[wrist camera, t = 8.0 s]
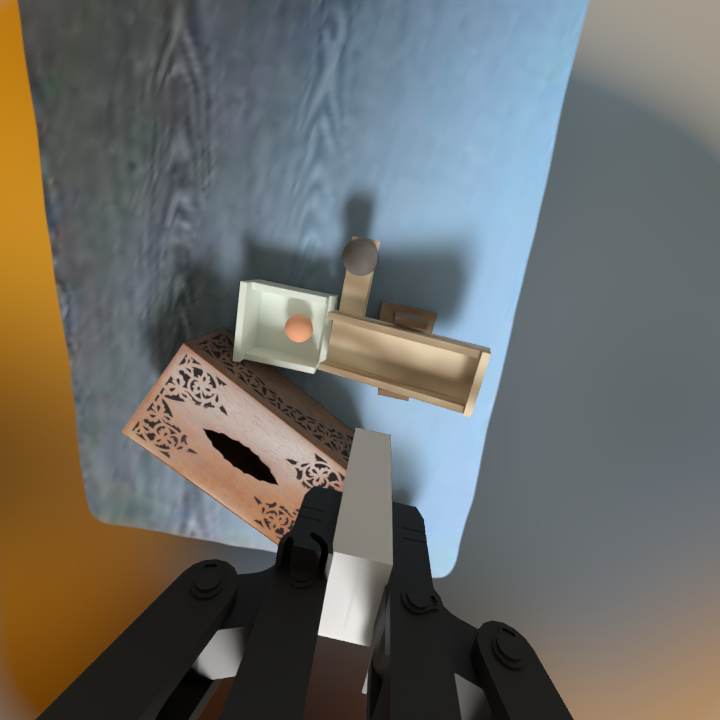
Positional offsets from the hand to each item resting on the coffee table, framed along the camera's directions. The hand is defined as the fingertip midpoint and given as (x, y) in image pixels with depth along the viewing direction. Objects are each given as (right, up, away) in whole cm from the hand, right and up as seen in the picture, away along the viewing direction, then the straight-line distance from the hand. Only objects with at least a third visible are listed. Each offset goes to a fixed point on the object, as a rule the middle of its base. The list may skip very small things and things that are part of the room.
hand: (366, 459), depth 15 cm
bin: (-9, +9, +32) cm, 34 cm away
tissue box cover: (-14, -5, +37) cm, 39 cm away
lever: (+6, +9, +25) cm, 27 cm away
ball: (-8, +8, +30) cm, 32 cm away
